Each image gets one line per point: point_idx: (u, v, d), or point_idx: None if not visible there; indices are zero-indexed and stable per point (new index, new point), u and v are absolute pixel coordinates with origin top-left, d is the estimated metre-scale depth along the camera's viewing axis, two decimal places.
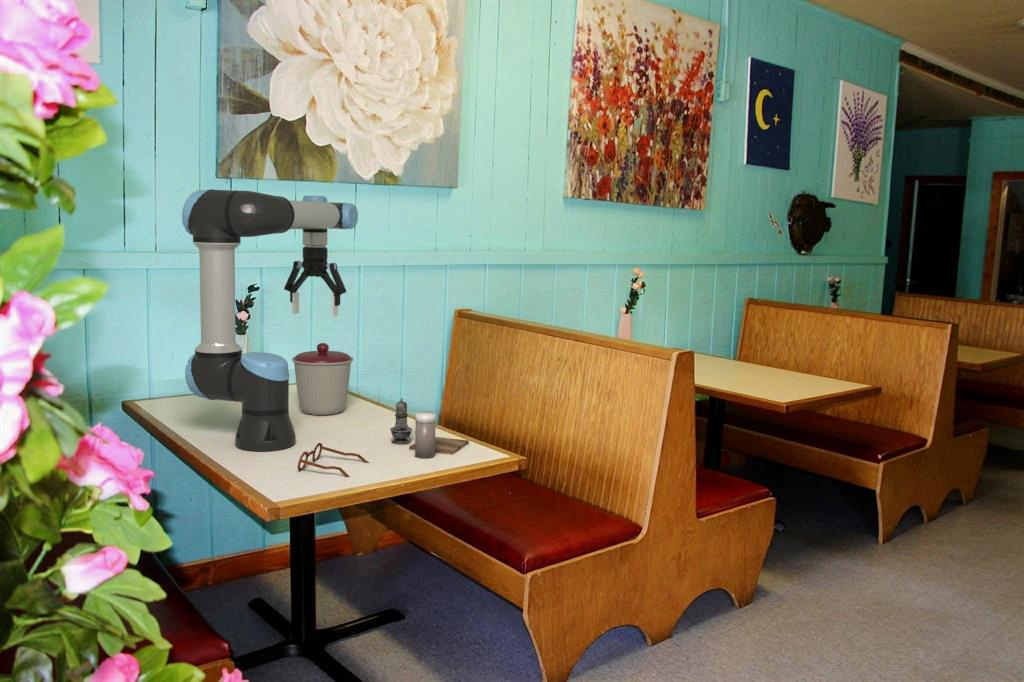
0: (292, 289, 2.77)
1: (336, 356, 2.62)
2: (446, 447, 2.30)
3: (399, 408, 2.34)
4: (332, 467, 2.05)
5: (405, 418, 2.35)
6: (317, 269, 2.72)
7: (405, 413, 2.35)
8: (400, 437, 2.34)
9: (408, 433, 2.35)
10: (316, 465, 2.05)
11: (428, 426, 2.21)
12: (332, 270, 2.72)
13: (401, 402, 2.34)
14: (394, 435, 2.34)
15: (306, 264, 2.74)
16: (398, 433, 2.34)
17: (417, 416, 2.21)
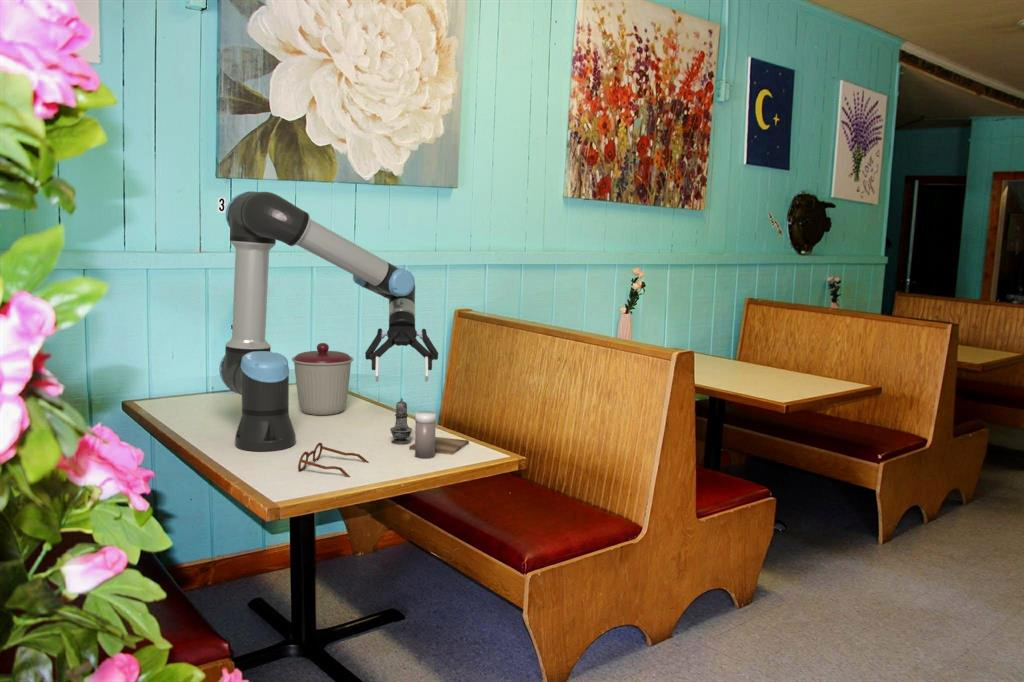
0: None
1: (336, 356, 2.62)
2: (446, 447, 2.30)
3: (399, 408, 2.34)
4: (332, 467, 2.05)
5: (405, 418, 2.35)
6: None
7: (405, 413, 2.35)
8: (400, 437, 2.34)
9: (408, 433, 2.35)
10: (316, 465, 2.05)
11: (429, 426, 2.21)
12: None
13: (401, 402, 2.34)
14: (394, 435, 2.34)
15: None
16: (398, 433, 2.34)
17: (417, 416, 2.21)
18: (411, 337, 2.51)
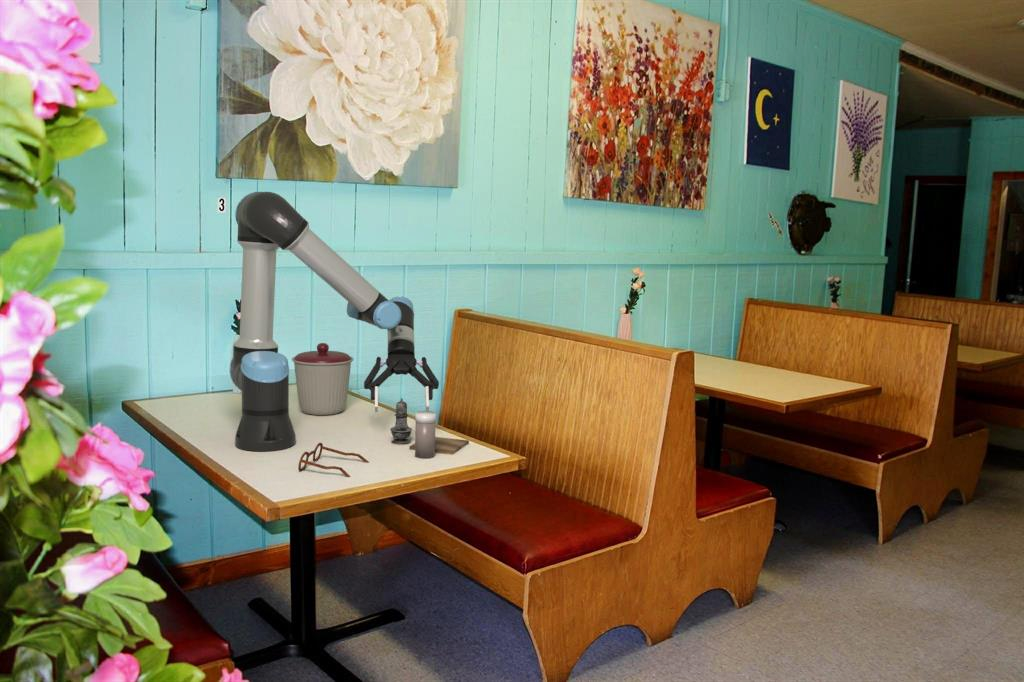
0: None
1: (336, 356, 2.62)
2: (446, 447, 2.30)
3: (399, 408, 2.34)
4: (333, 467, 2.05)
5: (405, 418, 2.35)
6: None
7: (405, 413, 2.35)
8: (400, 437, 2.34)
9: (408, 433, 2.35)
10: (317, 465, 2.05)
11: (429, 426, 2.21)
12: None
13: (401, 402, 2.34)
14: (394, 435, 2.34)
15: None
16: (398, 433, 2.34)
17: (417, 416, 2.21)
18: (411, 366, 2.45)
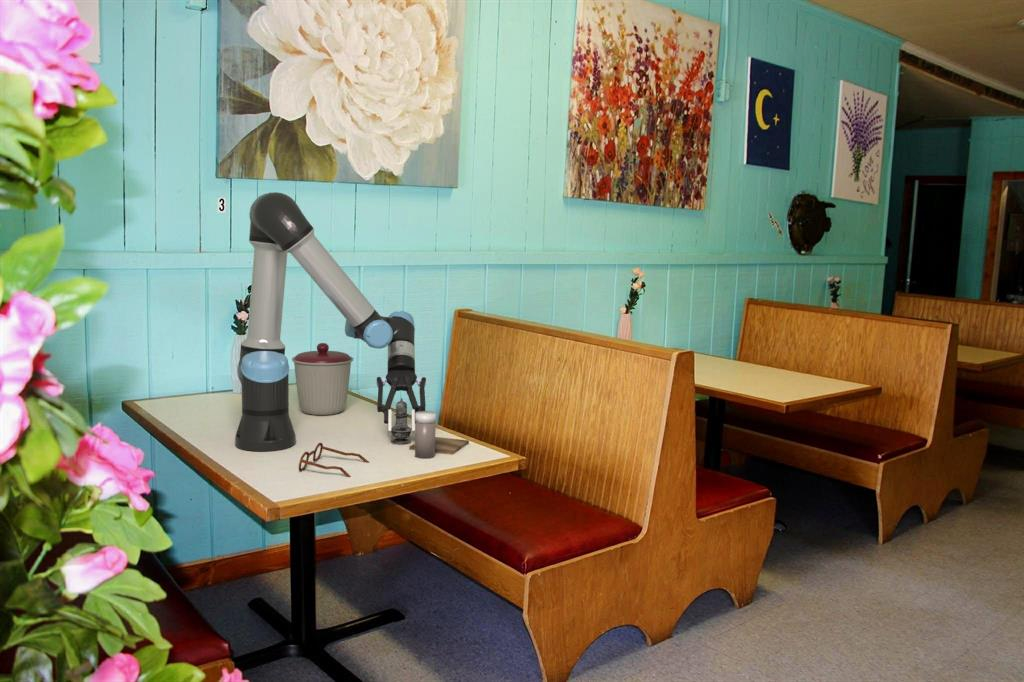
0: None
1: (336, 356, 2.62)
2: (446, 447, 2.30)
3: (399, 408, 2.34)
4: (333, 467, 2.05)
5: (405, 418, 2.35)
6: None
7: (405, 413, 2.35)
8: (400, 437, 2.34)
9: (408, 433, 2.35)
10: (317, 465, 2.05)
11: (429, 426, 2.21)
12: None
13: (401, 402, 2.34)
14: (394, 435, 2.34)
15: None
16: (398, 433, 2.34)
17: (417, 416, 2.21)
18: (407, 383, 2.40)
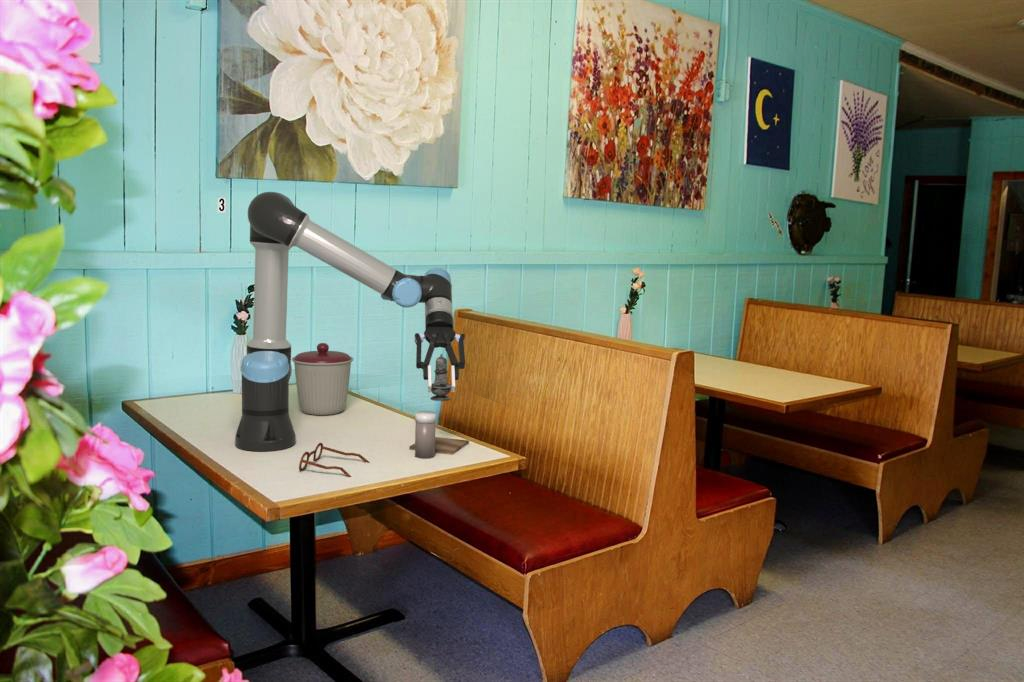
0: None
1: (336, 356, 2.62)
2: (446, 447, 2.30)
3: (439, 363, 2.29)
4: (333, 467, 2.05)
5: (445, 374, 2.30)
6: None
7: (445, 369, 2.30)
8: (440, 393, 2.29)
9: (448, 389, 2.30)
10: (317, 465, 2.05)
11: (429, 426, 2.21)
12: None
13: (441, 358, 2.30)
14: (434, 391, 2.30)
15: None
16: (438, 389, 2.29)
17: (417, 416, 2.21)
18: (446, 340, 2.35)
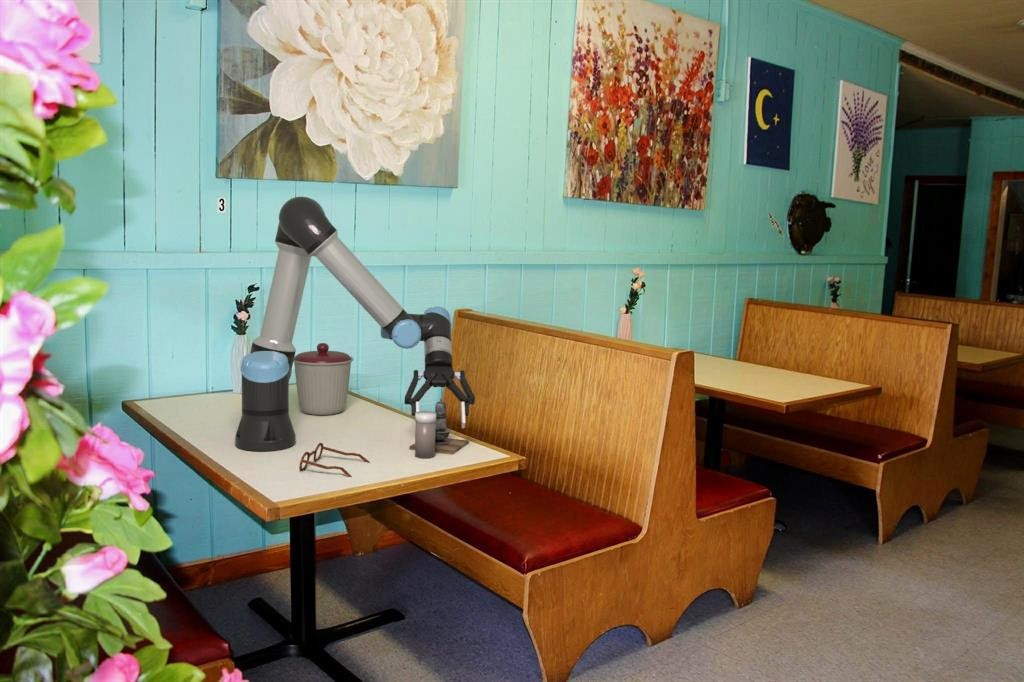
0: None
1: (336, 356, 2.62)
2: (446, 447, 2.30)
3: (438, 408, 2.31)
4: (334, 467, 2.05)
5: (444, 419, 2.32)
6: None
7: (444, 414, 2.32)
8: (439, 438, 2.31)
9: (447, 434, 2.32)
10: (318, 465, 2.05)
11: (429, 426, 2.21)
12: None
13: (441, 402, 2.31)
14: None
15: None
16: (437, 434, 2.31)
17: (417, 416, 2.21)
18: (448, 379, 2.37)
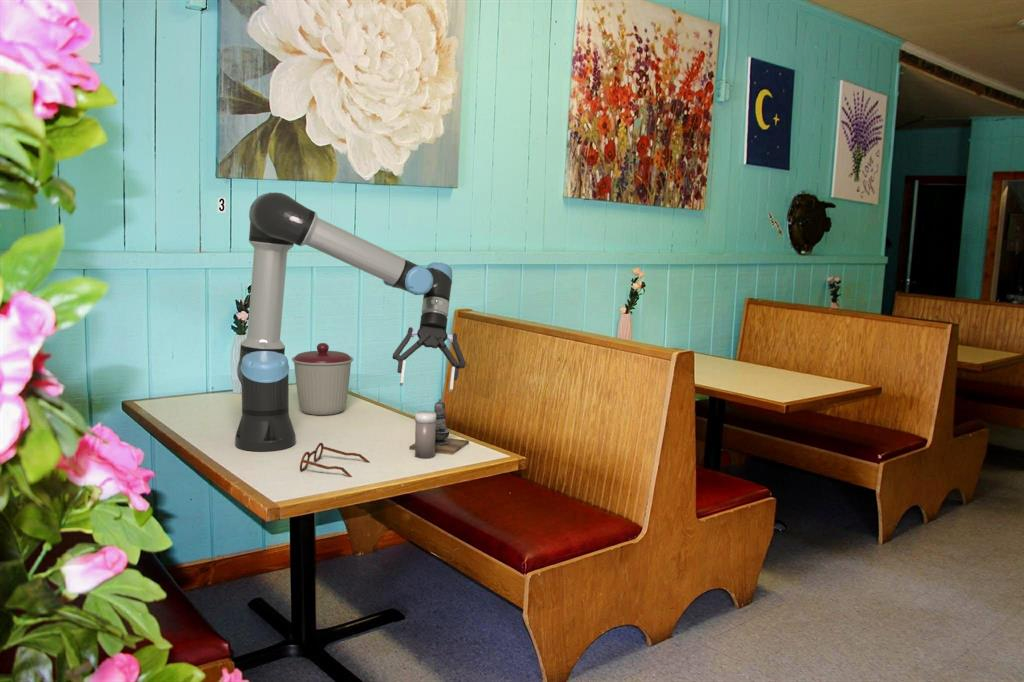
0: None
1: (336, 356, 2.62)
2: (446, 447, 2.30)
3: (437, 408, 2.31)
4: (334, 467, 2.05)
5: (444, 419, 2.32)
6: None
7: (444, 414, 2.32)
8: (439, 438, 2.31)
9: (447, 434, 2.32)
10: (318, 465, 2.05)
11: (428, 426, 2.21)
12: None
13: (440, 403, 2.31)
14: None
15: None
16: (437, 434, 2.30)
17: (417, 416, 2.21)
18: (441, 342, 2.46)
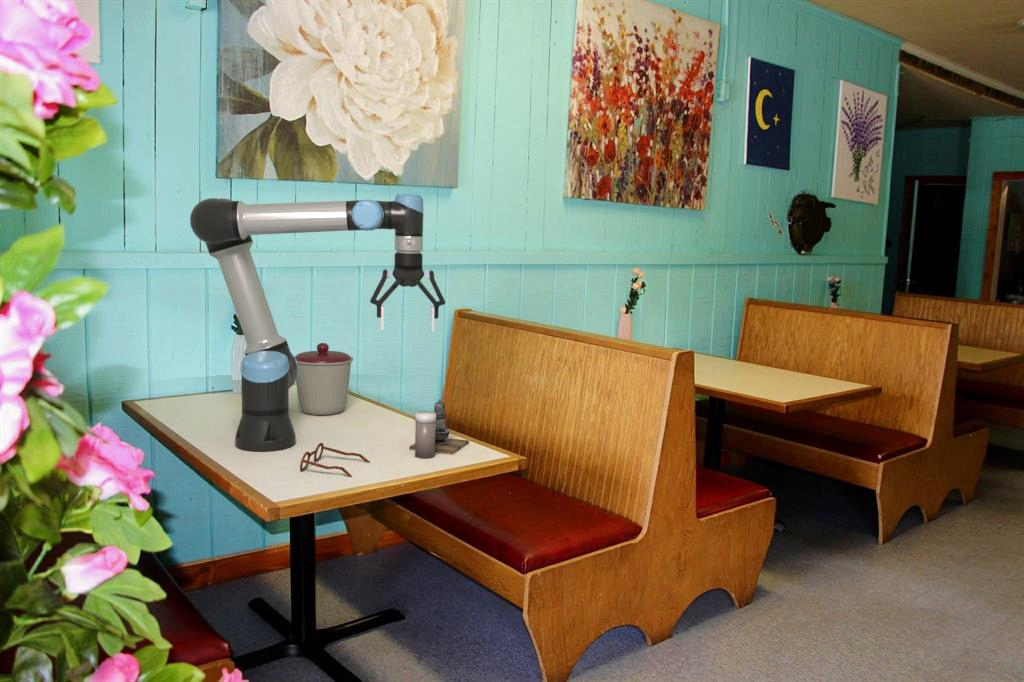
0: None
1: (336, 356, 2.62)
2: (446, 447, 2.30)
3: (437, 408, 2.31)
4: (335, 467, 2.05)
5: (443, 419, 2.32)
6: None
7: (443, 414, 2.32)
8: (439, 438, 2.31)
9: (447, 434, 2.32)
10: (318, 465, 2.05)
11: (429, 426, 2.21)
12: None
13: (439, 403, 2.31)
14: None
15: None
16: (437, 434, 2.30)
17: (417, 416, 2.21)
18: (418, 283, 2.40)
